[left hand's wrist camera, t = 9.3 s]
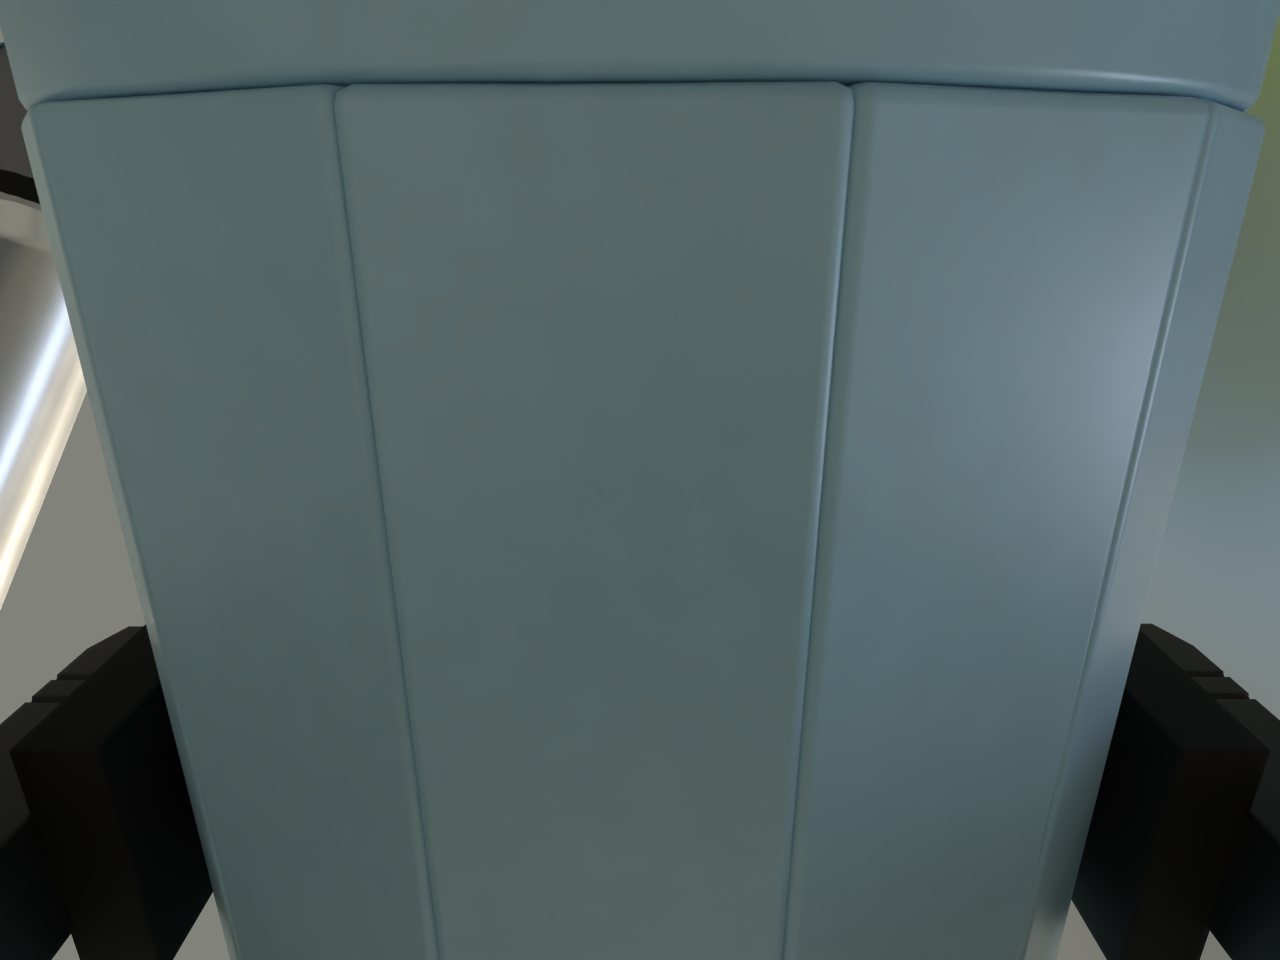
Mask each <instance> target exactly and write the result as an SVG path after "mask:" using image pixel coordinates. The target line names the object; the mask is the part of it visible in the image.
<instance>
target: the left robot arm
mask: <svg viewBox="0 0 1280 960" xmlns="http://www.w3.org/2000/svg"><path fill="white" fill-rule="evenodd" d="M212 892H213V889H212V885H211V881H210V877H209V873H208V869H207V865H206V861H205V857H204V853H203V849H202V845H201V841H200V837H199V833H198V829H197V825H196V821H195V817H194V813H193V809H192V805H191V801H190V797H189V793H188V789H187V785H186V781H185V777H184V773H183V769H182V765H181V761H180V757H179V753H178V749H177V745H176V742H175V738H174V734H173V730H172V726H171V722H170V718H169V714H168V710H167V706H166V702H165V698H164V694H163V690H162V686H161V682H160V678H159V674H158V670H157V666H156V662H155V658H154V654H153V650H152V646H151V642H150V638H149V634H148V630H147V626H146V625H144V626H143V627H127V628H125V629H123V630H121V631H119V632H118V633H116V634H114V635H112V636H110V637H108V638H106V639H105V640H103V641H101V642H99V643H97V644H95V645H93V646H91V647H90V648H88V649H86V650H85V651H84V652H83V653H82V654H81V655H79V656H78V657H77V658H76V659H75V660H74V661H73V662H71V663H70V664H69V665H68V666H67V667H66V668H65V669H63V670H62V671H61V672H60V673H59V674H58V675H57V680H51V681H50V682H49V683H47V684H46V685H45V686H44V687H43V688H42V689H40V690H39V691H38V692H37V693H36V694H35V695H34V696H32V702H31V703H24V704H23V705H22V706H21V707H20V708H19V709H17V710H16V711H15V712H14V713H13V714H12V715H11V716H9V717H8V718H7V719H6V720H5V721H4V722H3V723H1V724H0V960H52V958H53V957H54V956H55V954H56V953H57V952H58V950H59V949H60V948H61V946H62V945H63V943H64V942H65V941H66V939H67V938H68V937H69V935H70V934H72V937H73V940H74V943H75V946H76V949H77V952H78V955H79V958H80V960H173V959H174V957H175V955H176V954H177V952H178V950H179V948H180V947H181V945H182V943H183V942H184V940H185V938H186V937H187V935H188V933H189V931H190V930H191V928H192V926H193V925H194V923H195V921H196V920H197V918H198V916H199V914H200V913H201V911H202V909H203V908H204V906H205V904H206V903H207V901H208V899H209V897H210V896H211V894H212ZM1071 900H1072V901H1073V903H1074V905H1075V906H1076V908H1077V910H1078V911H1079V913H1080V915H1081V916H1082V918H1083V920H1084V922H1085V923H1086V925H1087V927H1088V928H1089V930H1090V932H1091V934H1092V935H1093V937H1094V939H1095V940H1096V942H1097V944H1098V945H1099V947H1100V949H1101V950H1102V952H1103V954H1104V955H1105V957H1106V959H1107V960H1200V957H1201V954H1202V951H1203V948H1204V945H1205V942H1206V939H1207V936H1208V934H1209V931H1211V932H1212V934H1213V935H1214V936H1215V938H1216V939H1217V940H1218V942H1219V943H1220V944H1221V946H1222V947H1223V948H1224V950H1225V951H1226V953H1227V954H1228V955H1229V956H1230V958H1231V959H1232V960H1280V720H1278V719H1277V718H1276V717H1275V716H1274V715H1273V714H1272V713H1270V712H1269V711H1268V710H1267V709H1266V708H1265V707H1264V706H1262V705H1261V704H1260V703H1259V702H1258V701H1257V700H1255V699H1249V694H1248V693H1247V692H1246V691H1245V690H1244V689H1243V688H1242V687H1240V686H1239V685H1238V684H1237V683H1236V682H1235V681H1233V680H1232V679H1231V678H1230V677H1224V675H1223V671H1222V670H1221V669H1220V668H1218V667H1217V666H1216V665H1215V664H1214V663H1213V662H1211V661H1210V660H1209V659H1208V658H1207V657H1206V656H1205V655H1203V654H1202V653H1201V652H1200V651H1199V650H1198V649H1196V648H1195V647H1194V646H1193V645H1191V644H1189V643H1187V642H1185V641H1183V640H1181V639H1179V638H1178V637H1176V636H1174V635H1172V634H1170V633H1168V632H1166V631H1164V630H1163V629H1161V628H1159V627H1157V626H1155V625H1153V624H1140V628H1139V632H1138V636H1137V640H1136V644H1135V648H1134V652H1133V656H1132V660H1131V664H1130V668H1129V672H1128V676H1127V680H1126V684H1125V688H1124V692H1123V696H1122V700H1121V704H1120V708H1119V712H1118V716H1117V720H1116V724H1115V727H1114V731H1113V735H1112V739H1111V743H1110V747H1109V751H1108V755H1107V759H1106V763H1105V767H1104V771H1103V775H1102V779H1101V783H1100V787H1099V791H1098V795H1097V799H1096V803H1095V807H1094V811H1093V815H1092V819H1091V823H1090V827H1089V831H1088V835H1087V838H1086V842H1085V846H1084V850H1083V854H1082V858H1081V862H1080V866H1079V870H1078V874H1077V878H1076V882H1075V886H1074V890H1073V894H1072V898H1071Z"/></svg>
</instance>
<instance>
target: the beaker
mask: <svg viewBox="0 0 1280 960" xmlns="http://www.w3.org/2000/svg"><path fill="white" fill-rule="evenodd" d="M1279 14H1280V0H0V27H1V31H2V35H3V38H4V43H5V47H6V51H7V55H8V59H9V63H10V67H11V71H12V75H13V79H14V83H15V87H16V91H17V95H18V99H19V100H20V102H21V103H22V105H23V106H24V108H25V109H26V110H27V113H26V115H25V117H24V119H23V122H22V126H21V130H22V134H23V138H24V141H25V145H26V149H27V153H28V157H29V161H30V165H31V169H32V173H33V177H34V181H35V185H36V189H37V193H38V197H39V201H40V205H41V209H42V213H43V217H44V221H45V225H46V229H47V233H48V237H49V241H50V245H51V249H52V253H53V257H54V261H55V265H56V269H57V273H58V277H59V281H60V285H61V289H62V292H63V296H64V300H65V304H66V308H67V312H68V316H69V320H70V324H71V328H72V332H73V336H74V340H75V344H76V348H77V352H78V356H79V360H80V364H81V368H82V372H83V376H84V380H85V384H86V388H87V392H88V396H89V400H90V404H91V408H92V412H93V416H94V419H95V424H96V427H97V431H98V436H99V439H100V443H101V447H102V451H103V455H104V459H105V463H106V467H107V471H108V475H109V479H110V483H111V487H112V491H113V495H114V499H115V503H116V507H117V511H118V515H119V519H120V523H121V527H122V531H123V535H124V539H125V543H126V547H127V551H128V555H129V558H130V562H131V567H132V571H133V575H134V578H135V583H136V586H137V591H138V594H139V598H140V602H141V606H142V610H143V614H144V618H145V622H146V626H147V630H148V634H149V638H150V642H151V646H152V650H153V654H154V658H155V662H156V666H157V670H158V674H159V678H160V682H161V686H162V690H163V694H164V698H165V702H166V706H167V710H168V714H169V718H170V722H171V726H172V730H173V734H174V738H175V742H176V745H177V749H178V753H179V757H180V761H181V765H182V769H183V773H184V777H185V781H186V785H187V789H188V793H189V797H190V801H191V805H192V809H193V813H194V817H195V821H196V825H197V829H198V833H199V837H200V841H201V845H202V849H203V853H204V857H205V861H206V865H207V869H208V873H209V877H210V881H211V885H212V889H213V893H214V896H215V900H216V904H217V908H218V912H219V916H220V920H221V924H222V928H223V932H224V936H225V940H226V944H227V948H228V952H229V956H230V960H1056V957H1057V953H1058V949H1059V946H1060V941H1061V938H1062V934H1063V930H1064V926H1065V922H1066V918H1067V914H1068V910H1069V906H1070V902H1071V898H1072V894H1073V890H1074V886H1075V882H1076V878H1077V874H1078V870H1079V866H1080V862H1081V858H1082V854H1083V850H1084V846H1085V842H1086V838H1087V835H1088V831H1089V827H1090V823H1091V819H1092V815H1093V811H1094V807H1095V803H1096V799H1097V795H1098V791H1099V787H1100V783H1101V779H1102V775H1103V771H1104V767H1105V763H1106V759H1107V755H1108V751H1109V747H1110V743H1111V739H1112V735H1113V731H1114V727H1115V724H1116V720H1117V716H1118V712H1119V708H1120V704H1121V700H1122V696H1123V692H1124V688H1125V684H1126V680H1127V676H1128V672H1129V668H1130V664H1131V660H1132V656H1133V652H1134V648H1135V644H1136V640H1137V636H1138V632H1139V628H1140V624H1141V620H1142V616H1143V612H1144V608H1145V605H1146V600H1147V597H1148V593H1149V589H1150V585H1151V580H1152V577H1153V573H1154V569H1155V565H1156V561H1157V557H1158V553H1159V549H1160V545H1161V541H1162V537H1163V533H1164V529H1165V525H1166V521H1167V517H1168V513H1169V509H1170V505H1171V501H1172V498H1173V494H1174V490H1175V486H1176V482H1177V478H1178V474H1179V470H1180V466H1181V462H1182V458H1183V454H1184V450H1185V446H1186V442H1187V438H1188V434H1189V430H1190V426H1191V422H1192V418H1193V414H1194V410H1195V406H1196V402H1197V398H1198V394H1199V391H1200V387H1201V383H1202V379H1203V375H1204V371H1205V367H1206V363H1207V359H1208V355H1209V351H1210V347H1211V343H1212V339H1213V335H1214V331H1215V327H1216V323H1217V319H1218V315H1219V311H1220V307H1221V303H1222V299H1223V295H1224V291H1225V287H1226V283H1227V280H1228V276H1229V272H1230V268H1231V264H1232V260H1233V256H1234V252H1235V248H1236V244H1237V240H1238V236H1239V232H1240V228H1241V224H1242V220H1243V216H1244V212H1245V208H1246V204H1247V200H1248V196H1249V192H1250V188H1251V184H1252V180H1253V176H1254V172H1255V169H1256V165H1257V161H1258V157H1259V153H1260V148H1261V145H1262V141H1263V137H1264V133H1265V126H1264V121H1263V119H1261V118H1259V117H1256V116H1253V115H1250V114H1248V113H1245V111H1246V110H1248V109H1250V108H1251V107H1252V106H1253V104H1254V103H1255V101H1256V100H1257V99H1258V97H1259V95H1260V91H1261V87H1262V83H1263V78H1264V74H1265V70H1266V66H1267V62H1268V58H1269V54H1270V50H1271V46H1272V42H1273V38H1274V34H1275V30H1276V25H1277V22H1278V18H1279Z"/></svg>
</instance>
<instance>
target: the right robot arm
mask: <svg viewBox="0 0 1280 960" xmlns="http://www.w3.org/2000/svg"><path fill="white" fill-rule="evenodd" d="M26 113H27V110H26V109H25V108H24V106H23V105H22V103H21V102H20V100H19V99H18V95H17V91H16V87H15V83H14V79H13V75H12V71H11V67H10V63H9V59H8V55H7V51H6V47H5V43H4V42H2V43H0V609H1V607H2V604H3V602H4V599H5V597H6V594H7V592H8V589H9V587H10V584H11V582H12V579H13V576H14V574H15V572H16V569H17V566H18V564H19V561H20V559H21V556H22V554H23V551H24V549H25V546H26V544H27V541H28V539H29V536H30V533H31V531H32V528H33V526H34V523H35V521H36V518H37V516H38V513H39V511H40V508H41V506H42V503H43V500H44V498H45V495H46V493H47V490H48V488H49V485H50V483H51V480H52V478H53V475H54V473H55V470H56V468H57V465H58V462H59V460H60V457H61V455H62V452H63V450H64V447H65V445H66V442H67V440H68V437H69V435H70V432H71V429H72V427H73V424H74V422H75V419H76V417H77V414H78V412H79V409H80V407H81V404H82V402H83V399H84V397H85V394H86V392H87V388H86V384H85V380H84V376H83V372H82V368H81V364H80V360H79V356H78V352H77V348H76V344H75V340H74V336H73V332H72V328H71V324H70V320H69V316H68V312H67V308H66V304H65V300H64V296H63V292H62V289H61V285H60V281H59V277H58V273H57V269H56V265H55V261H54V257H53V253H52V249H51V245H50V241H49V237H48V233H47V229H46V225H45V221H44V217H43V213H42V209H41V205H40V201H39V197H38V193H37V189H36V185H35V181H34V177H33V173H32V169H31V165H30V161H29V157H28V153H27V149H26V145H25V141H24V138H23V134H22V130H21V126H22V122H23V119H24V117H25V115H26Z"/></svg>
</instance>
